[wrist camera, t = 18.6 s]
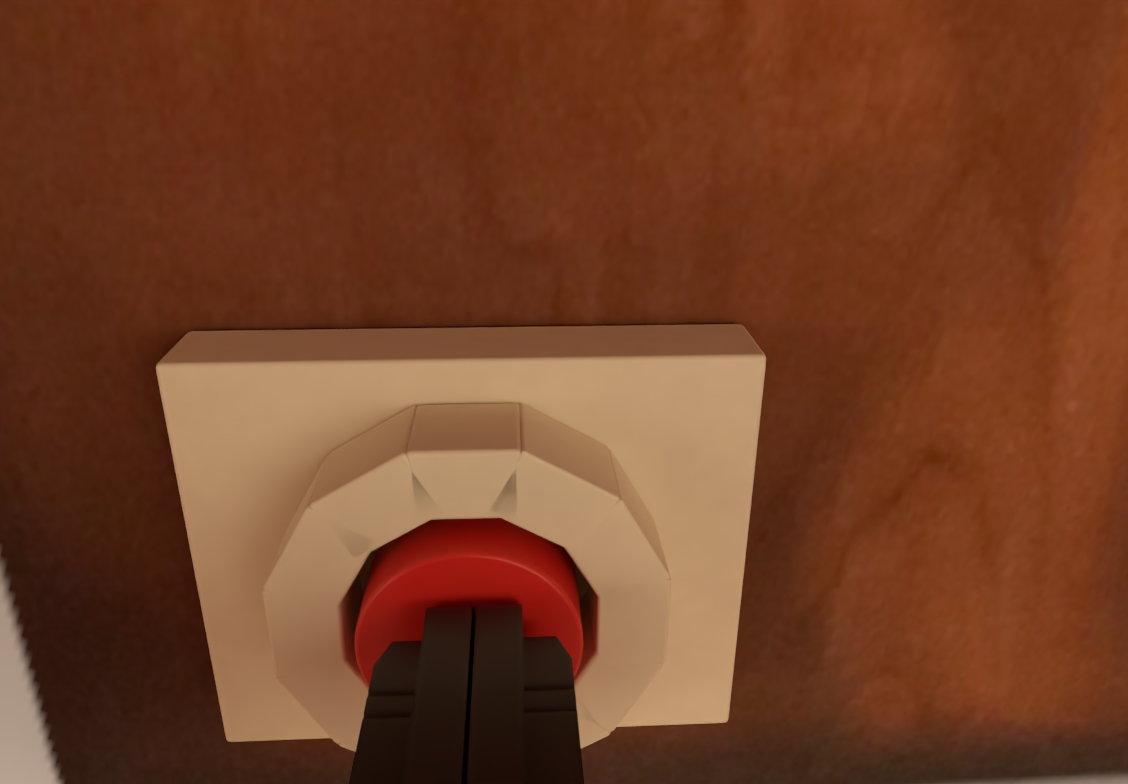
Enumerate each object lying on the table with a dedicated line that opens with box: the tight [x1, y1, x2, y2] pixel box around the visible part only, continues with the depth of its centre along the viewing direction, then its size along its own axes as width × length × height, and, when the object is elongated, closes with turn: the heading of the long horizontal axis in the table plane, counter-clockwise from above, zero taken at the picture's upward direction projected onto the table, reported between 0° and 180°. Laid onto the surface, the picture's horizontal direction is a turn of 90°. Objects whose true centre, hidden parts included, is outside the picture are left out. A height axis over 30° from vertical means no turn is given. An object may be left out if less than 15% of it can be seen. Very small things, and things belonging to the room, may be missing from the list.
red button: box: [355, 518, 583, 687], centre depth 15 cm, size 4×4×2 cm
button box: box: [156, 324, 766, 752], centre depth 16 cm, size 10×8×4 cm
